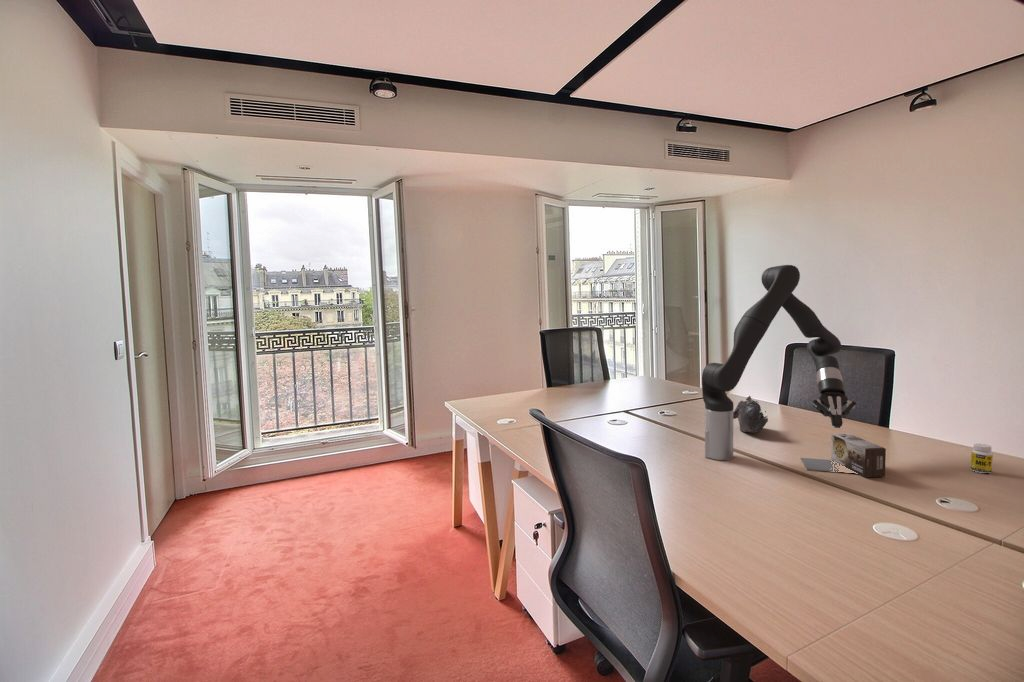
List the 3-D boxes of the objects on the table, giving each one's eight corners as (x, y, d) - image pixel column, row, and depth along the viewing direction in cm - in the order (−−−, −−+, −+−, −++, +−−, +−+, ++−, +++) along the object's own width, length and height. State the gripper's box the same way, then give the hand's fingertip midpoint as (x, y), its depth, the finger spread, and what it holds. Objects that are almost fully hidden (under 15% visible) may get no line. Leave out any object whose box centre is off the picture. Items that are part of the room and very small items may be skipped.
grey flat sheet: (806, 470, 158) (806, 469, 158) (800, 458, 169) (800, 457, 169) (881, 476, 151) (881, 475, 150) (870, 464, 161) (870, 463, 161)
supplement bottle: (973, 473, 151) (974, 446, 150) (968, 468, 155) (969, 442, 154) (994, 475, 149) (995, 448, 148) (988, 470, 153) (989, 443, 152)
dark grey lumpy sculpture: (727, 424, 212) (734, 439, 193) (731, 391, 210) (739, 404, 191) (762, 428, 208) (773, 444, 189) (767, 395, 206) (778, 408, 187)
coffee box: (848, 458, 166) (885, 477, 149) (829, 459, 165) (864, 478, 149) (849, 432, 165) (887, 448, 148) (830, 433, 164) (866, 449, 148)
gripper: (809, 376, 171) (816, 419, 160) (854, 377, 166) (864, 422, 156) (806, 388, 176) (812, 431, 166) (850, 390, 171) (859, 433, 161)
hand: (837, 426), depth 161 cm, fingers closed
